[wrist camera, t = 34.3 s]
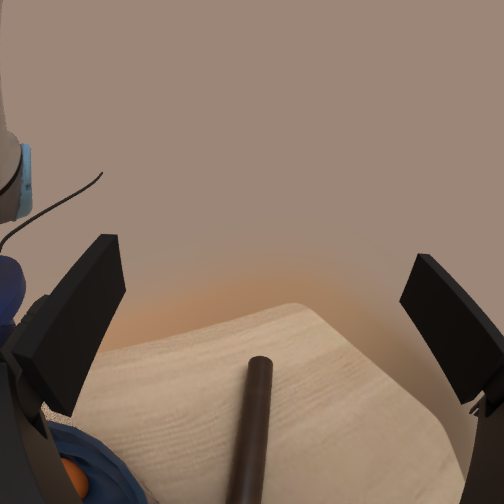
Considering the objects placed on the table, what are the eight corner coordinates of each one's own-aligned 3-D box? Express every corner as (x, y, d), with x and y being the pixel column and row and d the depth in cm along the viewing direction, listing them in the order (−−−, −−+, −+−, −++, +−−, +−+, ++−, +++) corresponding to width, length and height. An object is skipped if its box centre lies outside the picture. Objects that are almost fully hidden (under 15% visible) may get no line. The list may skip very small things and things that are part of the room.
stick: (262, 352, 28) (237, 550, 10) (278, 365, 28) (262, 552, 11) (243, 361, 28) (210, 547, 11) (259, 374, 29) (235, 550, 12)
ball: (51, 496, 9) (61, 512, 10) (96, 484, 12) (99, 501, 13) (29, 453, 11) (39, 475, 12) (71, 444, 14) (75, 466, 15)
